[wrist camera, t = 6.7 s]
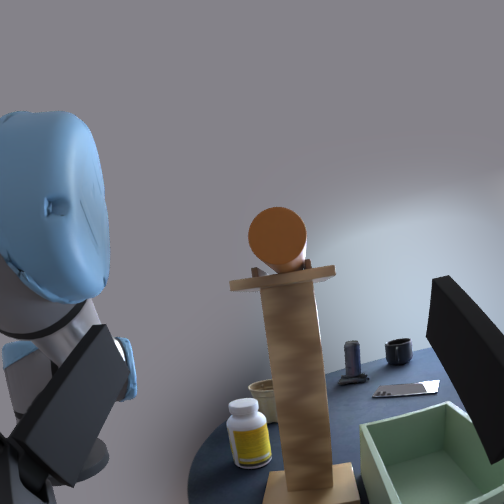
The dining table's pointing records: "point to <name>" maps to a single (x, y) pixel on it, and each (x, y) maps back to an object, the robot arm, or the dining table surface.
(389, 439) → the bin
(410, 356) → the mug
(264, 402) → the flower pot
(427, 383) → the smartphone
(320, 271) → the stand
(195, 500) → the dining table surface
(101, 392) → the robot arm
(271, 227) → the orange brown cylinder
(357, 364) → the dark grey pillar
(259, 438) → the pill bottle
